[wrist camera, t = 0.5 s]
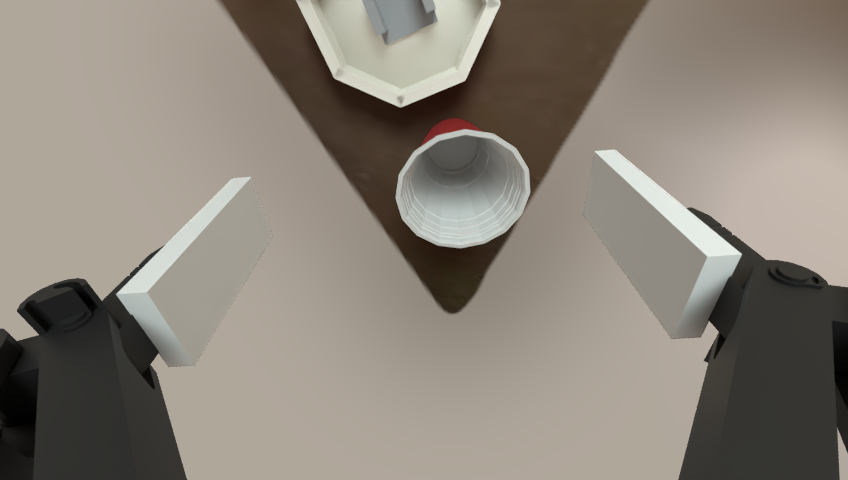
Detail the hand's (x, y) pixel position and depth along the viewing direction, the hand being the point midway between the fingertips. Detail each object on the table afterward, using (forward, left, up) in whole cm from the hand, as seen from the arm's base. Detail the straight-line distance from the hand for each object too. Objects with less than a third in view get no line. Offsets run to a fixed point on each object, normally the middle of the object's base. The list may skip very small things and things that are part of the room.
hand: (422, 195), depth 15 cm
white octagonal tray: (-7, 0, -25) cm, 26 cm away
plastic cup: (+7, 0, -26) cm, 27 cm away
